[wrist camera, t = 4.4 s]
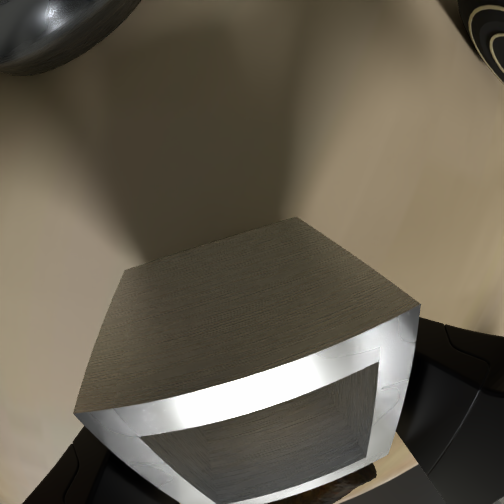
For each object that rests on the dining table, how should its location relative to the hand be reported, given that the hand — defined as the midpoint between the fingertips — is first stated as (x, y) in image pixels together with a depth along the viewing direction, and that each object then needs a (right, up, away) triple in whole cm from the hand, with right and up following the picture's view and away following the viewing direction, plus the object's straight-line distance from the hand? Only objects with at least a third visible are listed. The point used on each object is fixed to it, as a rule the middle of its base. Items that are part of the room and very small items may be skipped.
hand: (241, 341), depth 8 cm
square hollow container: (0, 0, +1) cm, 1 cm away
